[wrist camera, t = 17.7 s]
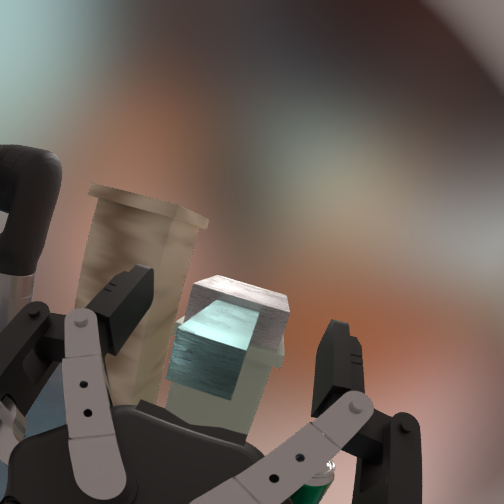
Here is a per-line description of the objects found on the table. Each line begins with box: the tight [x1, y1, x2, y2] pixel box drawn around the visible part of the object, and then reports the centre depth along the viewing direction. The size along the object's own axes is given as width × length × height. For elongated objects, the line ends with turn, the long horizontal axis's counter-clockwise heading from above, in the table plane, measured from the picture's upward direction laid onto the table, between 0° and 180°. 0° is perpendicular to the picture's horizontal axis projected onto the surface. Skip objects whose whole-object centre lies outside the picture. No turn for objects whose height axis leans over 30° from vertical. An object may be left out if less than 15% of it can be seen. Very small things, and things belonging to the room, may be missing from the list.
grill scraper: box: [166, 275, 290, 401], centre depth 21 cm, size 7×18×3 cm, turn 175°
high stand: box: [66, 183, 209, 424], centre depth 27 cm, size 8×10×30 cm
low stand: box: [165, 316, 284, 438], centre depth 26 cm, size 8×10×22 cm
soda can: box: [289, 460, 335, 504], centre depth 22 cm, size 5×5×12 cm
